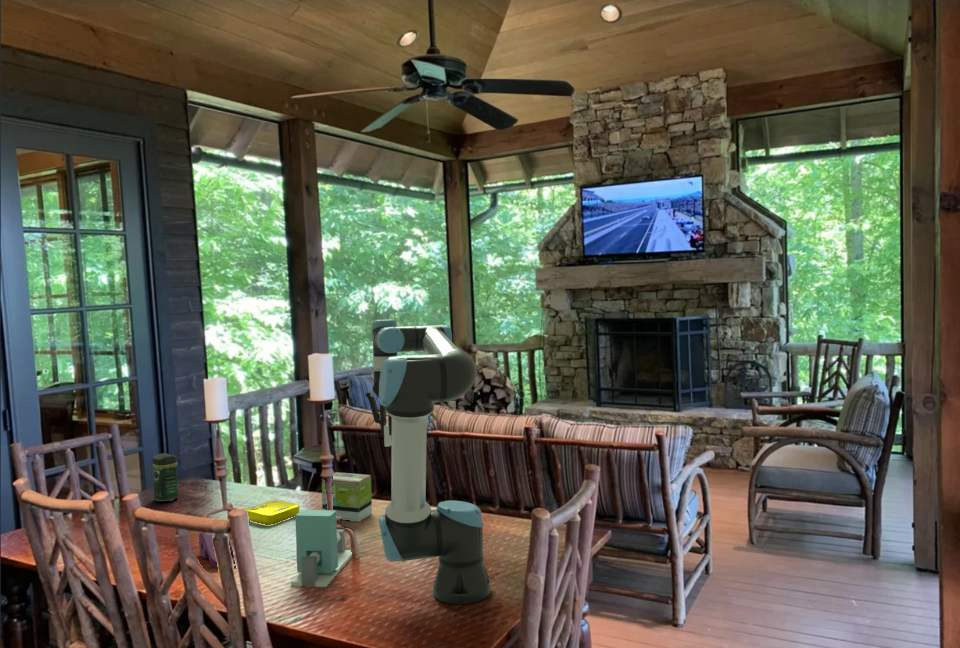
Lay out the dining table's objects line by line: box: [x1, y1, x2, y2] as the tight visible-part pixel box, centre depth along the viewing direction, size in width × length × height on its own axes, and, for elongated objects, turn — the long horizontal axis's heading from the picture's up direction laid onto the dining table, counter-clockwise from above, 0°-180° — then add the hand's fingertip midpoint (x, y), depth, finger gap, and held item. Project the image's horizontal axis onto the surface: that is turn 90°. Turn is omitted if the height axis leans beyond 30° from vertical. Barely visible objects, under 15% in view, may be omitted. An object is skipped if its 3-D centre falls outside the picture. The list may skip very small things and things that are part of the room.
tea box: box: [321, 471, 373, 523], centre depth 244 cm, size 15×10×15 cm
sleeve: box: [294, 509, 338, 573], centre depth 191 cm, size 5×10×16 cm, turn 82°
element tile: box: [244, 499, 300, 525], centre depth 246 cm, size 15×15×5 cm
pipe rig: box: [290, 528, 353, 588], centre depth 196 cm, size 24×10×8 cm, turn 172°
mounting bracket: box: [198, 533, 235, 568], centre depth 207 cm, size 9×8×18 cm
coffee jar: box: [152, 452, 179, 500], centre depth 272 cm, size 10×8×19 cm
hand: (388, 445), depth 211 cm, fingers closed
